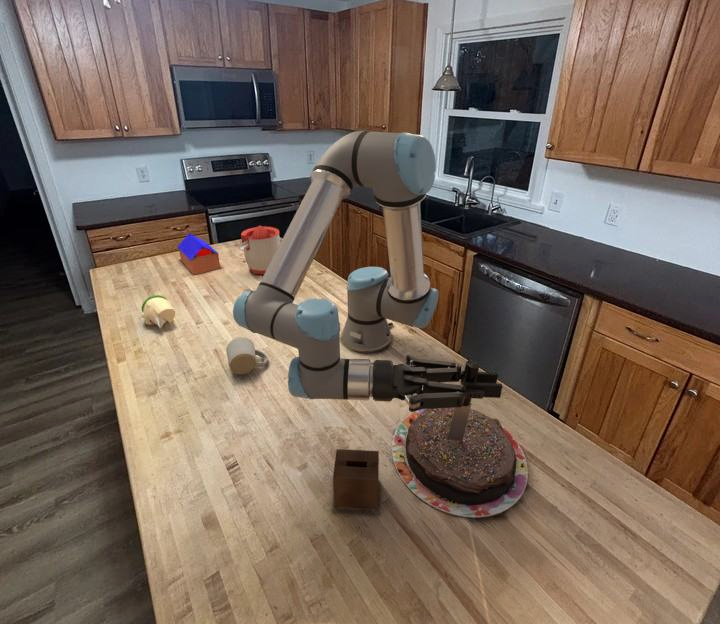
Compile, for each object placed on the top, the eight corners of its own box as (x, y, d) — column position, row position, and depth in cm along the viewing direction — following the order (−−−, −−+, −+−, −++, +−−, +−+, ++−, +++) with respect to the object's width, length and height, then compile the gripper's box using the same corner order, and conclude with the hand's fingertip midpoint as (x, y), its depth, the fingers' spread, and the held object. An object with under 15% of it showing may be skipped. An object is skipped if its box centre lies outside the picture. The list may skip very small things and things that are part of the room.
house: (193, 275, 163) (188, 249, 158) (180, 260, 177) (175, 236, 172) (221, 268, 170) (217, 243, 165) (206, 254, 184) (202, 230, 179)
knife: (448, 443, 77) (465, 367, 69) (446, 434, 79) (463, 359, 71) (463, 445, 77) (482, 369, 69) (461, 435, 79) (479, 360, 71)
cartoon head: (164, 341, 124) (145, 315, 138) (187, 320, 127) (166, 296, 140) (143, 327, 118) (126, 301, 132) (168, 305, 121) (148, 281, 134)
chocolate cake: (388, 406, 96) (389, 385, 93) (503, 409, 95) (507, 388, 92) (394, 520, 70) (395, 496, 67) (550, 525, 69) (558, 501, 67)
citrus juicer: (235, 270, 168) (229, 225, 160) (270, 259, 179) (266, 217, 170) (253, 281, 158) (247, 235, 149) (289, 269, 168) (286, 225, 160)
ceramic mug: (231, 379, 104) (227, 356, 101) (227, 361, 111) (224, 339, 108) (270, 370, 108) (268, 347, 105) (265, 353, 115) (263, 331, 112)
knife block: (334, 510, 72) (332, 477, 68) (337, 481, 77) (336, 448, 73) (377, 513, 71) (378, 479, 68) (377, 483, 77) (378, 450, 73)
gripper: (372, 369, 82) (485, 373, 81) (370, 426, 68) (507, 432, 67) (373, 339, 79) (491, 343, 77) (371, 393, 65) (514, 399, 63)
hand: (498, 384), depth 72 cm, fingers closed on knife, 2 cm apart
